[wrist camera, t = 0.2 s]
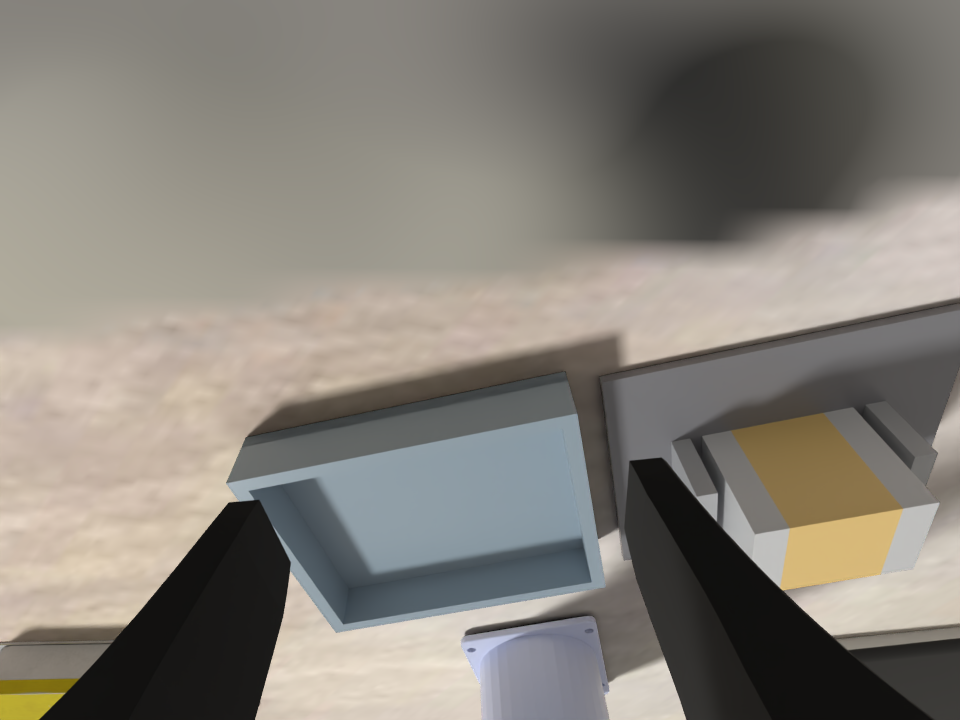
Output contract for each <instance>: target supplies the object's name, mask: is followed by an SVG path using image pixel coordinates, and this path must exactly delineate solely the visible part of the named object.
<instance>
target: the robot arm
mask: <svg viewBox="0 0 960 720" xmlns="http://www.w3.org/2000/svg"><path fill="white" fill-rule="evenodd" d="M624 530H625V534H626V539H627V543H628V547H629V551H630V555H631V559H632V563H633V567H634V571H635V575H636V579H637V582H638V585H639V588H640V591H641V594H642V596H643V599H644V602H645V605H646V607H647V610H648V613H649V616H650V619H651V621H652V624H653V627H654V630H655V632H656V635H657V638H658V641H659V643H660V646H661V649H662V652H663V654H664V657H665V660H666V663H667V665H668V668H669V671H670V673H671V676H672V679H673V682H674V684H675V687H676V690H677V693H678V695H679V698H680V701H681V704H682V707H683V711H684V714H685V717H686V720H935V719H933V718H932V717H931V716H930V715H928V714H927V713H926V712H924V711H923V710H922V709H920V708H919V707H918V706H916V705H915V704H914V703H913V702H911V701H910V700H909V699H907V698H906V697H905V696H903V695H902V694H901V693H900V692H898V691H897V690H896V689H894V688H893V687H892V686H890V685H889V684H888V683H887V682H886V681H884V680H883V679H882V678H881V677H879V676H878V675H877V674H876V673H875V672H873V671H872V670H871V669H870V668H869V667H867V666H866V665H865V664H864V663H863V662H861V661H860V660H859V659H858V658H857V657H855V656H854V655H853V654H852V653H851V652H849V651H848V650H847V649H846V648H845V647H844V646H843V645H841V644H840V643H839V642H838V641H837V640H836V639H835V638H833V637H832V636H831V635H830V634H829V633H828V632H827V631H825V630H824V629H823V628H822V627H821V626H820V625H819V624H818V623H817V622H815V621H814V620H813V619H812V618H811V617H810V616H809V615H808V614H807V613H806V612H805V611H803V610H802V609H801V608H800V607H799V606H798V605H797V604H796V603H795V602H794V601H793V600H792V599H791V598H790V597H789V596H788V595H787V594H786V593H785V592H784V591H783V590H782V589H781V588H780V587H778V586H777V585H776V584H775V583H774V582H773V581H772V580H771V579H770V578H769V577H768V576H767V575H766V574H765V573H764V572H763V571H762V570H761V569H760V568H759V567H758V566H757V565H756V563H755V562H754V561H753V560H752V559H751V558H750V557H749V556H748V555H747V554H746V553H745V552H744V551H743V550H742V549H741V548H740V547H739V545H738V544H737V543H736V542H735V541H734V540H733V539H732V538H731V537H730V536H729V535H728V534H727V533H726V532H725V530H724V529H723V528H722V527H721V526H720V525H719V524H718V523H717V522H716V520H715V519H714V518H713V517H712V516H711V515H710V514H709V512H708V511H707V510H706V509H705V508H704V507H703V505H702V504H701V503H700V502H699V501H698V500H697V498H696V497H695V496H694V495H693V494H692V492H691V491H690V490H689V489H688V488H687V486H686V485H685V484H684V483H683V482H682V480H681V479H680V478H679V477H678V475H677V474H676V473H675V472H674V470H673V469H672V468H671V466H670V465H669V464H668V463H667V461H665V460H664V459H663V458H662V457H660V458H650V459H641V460H631V461H629V472H628V485H627V498H626V511H625V523H624ZM290 567H291V561H290V559H289V557H288V555H287V553H286V551H285V549H284V547H283V545H282V543H281V542H280V540H279V538H278V536H277V534H276V532H275V530H274V528H273V526H272V524H271V522H270V520H269V518H268V516H267V514H266V512H265V510H264V508H263V506H262V504H261V502H260V500H250V501H240V502H230V503H228V504H227V505H226V507H225V508H224V509H223V510H222V511H221V513H220V514H219V515H218V516H217V518H216V519H215V520H214V521H213V522H212V524H211V525H210V526H209V527H208V529H207V530H206V531H205V532H204V534H203V535H202V536H201V537H200V539H199V540H198V541H197V542H196V544H195V545H194V546H193V547H192V549H191V550H190V551H189V552H188V554H187V555H186V556H185V557H184V558H183V560H182V561H181V562H180V563H179V565H178V566H177V567H176V568H175V570H174V571H173V572H172V573H171V575H170V576H169V577H168V578H167V579H166V581H165V582H164V583H163V584H162V585H161V587H160V588H159V589H158V590H157V591H156V593H155V594H154V595H153V596H152V597H151V599H150V600H149V601H148V602H147V603H146V605H145V606H144V607H143V608H142V609H141V611H140V612H139V613H138V614H137V615H136V616H135V618H134V619H133V620H132V621H131V622H130V623H129V624H128V625H127V627H126V628H125V629H124V630H123V631H122V632H121V633H120V634H119V636H118V637H117V638H116V639H115V640H114V641H113V642H112V643H111V645H110V646H109V647H108V648H107V649H106V650H105V651H104V652H103V654H102V655H101V656H100V657H99V658H98V659H97V660H96V661H95V663H94V664H93V665H92V666H91V667H90V668H89V669H88V670H87V671H86V672H85V673H84V674H83V675H82V676H81V678H80V679H79V680H78V681H77V682H76V683H75V684H74V685H73V686H72V687H71V688H70V689H69V690H68V691H67V692H66V693H65V694H64V695H63V696H62V697H61V698H60V699H59V700H58V701H57V702H56V703H55V704H54V705H53V706H52V707H51V708H50V709H49V710H48V711H47V712H46V713H45V714H44V715H43V716H42V717H41V718H40V719H39V720H255V717H256V714H257V710H258V707H259V703H260V699H261V696H262V692H263V688H264V685H265V681H266V678H267V674H268V670H269V667H270V663H271V660H272V656H273V652H274V649H275V645H276V641H277V637H278V634H279V630H280V626H281V622H282V618H283V614H284V608H285V602H286V596H287V589H288V582H289V574H290ZM461 647H462V649H463V651H464V653H465V655H466V657H467V659H468V661H469V663H470V665H471V667H472V669H473V671H474V673H475V675H476V677H477V680H478V682H479V684H480V688H481V711H482V720H610V719H609V714H608V710H607V705H606V700H605V696H604V695H605V694H607V693H608V692H609V685H608V680H607V675H606V670H605V665H604V660H603V654H602V649H601V644H600V639H599V634H598V629H597V624H596V619H595V618H594V617H592V616H582V617H576V618H570V619H564V620H558V621H552V622H546V623H540V624H534V625H528V626H522V627H516V628H509V629H503V630H497V631H491V632H485V633H479V634H473V635H467V636H464V637H463V638H462V639H461Z"/></svg>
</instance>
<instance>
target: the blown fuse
mask: <svg viewBox="0 0 960 720" xmlns="http://www.w3.org/2000/svg"><path fill="white" fill-rule="evenodd" d="M702 463H703V465H704V467H705V468H706V470H707V472H708V474H709V476H710V478H711V480H712V482H713V484H714V486H715V488H716V490H717V492H718V505H717V523H718V524H719V525H720V526H721V527H722V528H723V529H724V530H725V532H726V533H727V534H728V535H729V536H730V537H731V538H732V539H733V540H734V541H735V542H736V543H737V544H738V545H739V547H740V548H741V549H742V550H743V551H744V552H745V553H746V554H747V555H748V556H749V557H750V558H751V559H752V560H753V561H754V562H755V563H756V565H757V566H758V567H759V568H760V569H761V570H762V571H763V572H764V573H765V574H766V575H767V576H768V577H769V578H770V579H771V580H772V581H773V582H774V583H775V584H776V585H777V586H778V587H780V588H781V589H782V590H788V589H794V588H800V587H807V586H813V585H819V584H825V583H831V582H837V581H843V580H849V579H856V578H862V577H868V576H874V575H880V574H886V573H892V572H898V571H905V570H911V569H913V568H914V566H915V563H916V561H917V558H918V556H919V553H920V551H921V548H922V546H923V543H924V541H925V538H926V536H927V534H928V531H929V529H930V526H931V524H932V521H933V519H934V516H935V514H936V511H937V509H938V506H939V504H940V502H939V501H938V500H937V498H936V497H935V496H934V495H933V494H932V493H931V492H930V491H929V490H928V489H927V488H926V486H925V485H924V484H923V483H922V482H921V481H920V480H919V479H918V478H917V477H916V475H915V474H914V473H913V472H912V471H911V470H910V469H909V468H908V467H907V466H906V465H905V463H904V462H903V461H902V460H901V459H900V458H899V457H898V456H897V455H896V454H895V453H894V451H893V450H892V449H891V448H890V447H889V446H888V445H887V444H886V443H885V442H884V440H883V439H882V438H881V437H880V436H879V435H878V434H877V433H876V432H875V431H874V430H873V428H872V427H871V426H870V425H869V424H868V423H867V422H866V421H865V420H864V419H863V418H862V416H861V415H860V414H859V413H858V412H857V411H856V410H855V409H854V408H853V407H851V408H846V409H841V410H836V411H830V412H825V413H820V414H815V415H809V416H804V417H799V418H794V419H789V420H783V421H778V422H773V423H768V424H762V425H757V426H752V427H747V428H741V429H736V430H731V431H726V432H721V433H715V434H710V435H705V436H702Z"/></svg>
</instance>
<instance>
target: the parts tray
mask: <svg viewBox="0 0 960 720" xmlns="http://www.w3.org/2000/svg"><path fill="white" fill-rule="evenodd" d="M226 484H227V485H228V487H229V488H230V489H231V491H232V492H233V494H234V495H235V496H236V498H237V499H238V500H239V502H240V501H250V500H260V502H261V504H262V506H263V508H264V510H265V512H266V514H267V516H268V518H269V520H270V522H271V524H272V526H273V528H274V530H275V532H276V534H277V536H278V538H279V540H280V542H281V543H282V545H283V547H284V549H285V551H286V553H287V555H288V557H289V559H290V561H291V567H290V571H291V572H292V574H293V575H294V576H295V578H296V579H297V580H298V582H299V583H300V584H301V586H302V587H303V589H304V590H305V591H306V593H307V594H308V595H309V597H310V598H311V599H312V601H313V602H314V603H315V605H316V606H317V608H318V609H319V610H320V612H321V613H322V614H323V616H324V617H325V618H326V620H327V621H328V622H329V624H330V625H331V627H332V628H333V629H334V631H335V632H336V633H337V632H343V631H349V630H355V629H361V628H367V627H373V626H379V625H385V624H391V623H397V622H403V621H409V620H414V619H420V618H426V617H432V616H438V615H444V614H450V613H456V612H462V611H468V610H474V609H480V608H486V607H491V606H497V605H503V604H509V603H515V602H521V601H527V600H533V599H539V598H545V597H551V596H557V595H563V594H568V593H574V592H580V591H586V590H592V589H598V588H604V587H606V586H605V580H604V573H603V567H602V561H601V555H600V549H599V543H598V537H597V531H596V525H595V519H594V512H593V506H592V500H591V494H590V488H589V482H588V476H587V470H586V464H585V458H584V451H583V445H582V439H581V433H580V427H579V421H578V415H577V411H576V407H575V404H574V400H573V397H572V393H571V390H570V386H569V383H568V379H567V376H566V372H561V373H556V374H551V375H546V376H541V377H536V378H531V379H527V380H522V381H517V382H512V383H507V384H502V385H498V386H493V387H488V388H483V389H478V390H473V391H469V392H464V393H459V394H454V395H449V396H444V397H439V398H435V399H430V400H425V401H420V402H415V403H410V404H406V405H401V406H396V407H391V408H386V409H381V410H377V411H372V412H367V413H362V414H357V415H352V416H347V417H343V418H338V419H333V420H328V421H323V422H318V423H314V424H309V425H304V426H299V427H294V428H289V429H285V430H280V431H275V432H270V433H265V434H260V435H255V436H251V437H246V438H245V441H244V443H243V445H242V448H241V450H240V452H239V455H238V457H237V459H236V462H235V464H234V466H233V469H232V471H231V473H230V475H229V478H228V480H227V482H226Z"/></svg>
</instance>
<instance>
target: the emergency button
mask: <svg viewBox="0 0 960 720" xmlns="http://www.w3.org/2000/svg"><path fill="white" fill-rule="evenodd" d="M113 641H114V640H103V641H50V642H0V720H39V719H40V718H41V717H42V716H43V715H44V714H45V713H46V712H47V711H48V710H49V709H50V708H51V707H52V706H53V705H54V704H55V703H56V702H57V701H58V700H59V699H60V698H61V697H62V696H63V695H64V694H65V693H66V692H67V691H68V690H69V689H70V688H71V687H72V686H73V685H74V684H75V683H76V682H77V681H78V680H79V679H80V678H81V676H82V675H83V674H84V673H85V672H86V671H87V670H88V669H89V668H90V667H91V666H92V665H93V664H94V663H95V661H96V660H97V659H98V658H99V657H100V656H101V655H102V654H103V652H104V651H105V650H106V649H107V648H108V647H109V646H110V645H111V643H112V642H113Z"/></svg>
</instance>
